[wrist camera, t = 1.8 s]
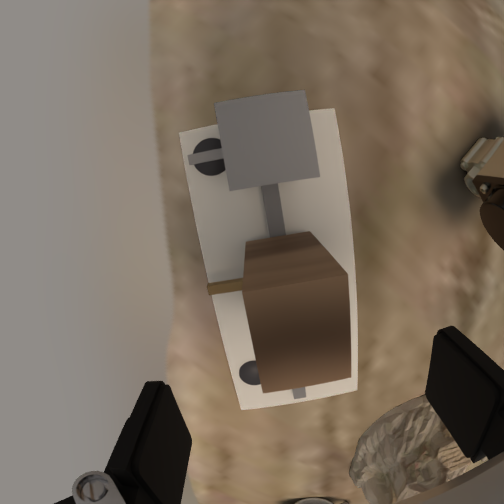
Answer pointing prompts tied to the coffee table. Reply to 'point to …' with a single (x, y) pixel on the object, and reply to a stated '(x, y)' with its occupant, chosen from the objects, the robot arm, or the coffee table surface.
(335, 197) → the board
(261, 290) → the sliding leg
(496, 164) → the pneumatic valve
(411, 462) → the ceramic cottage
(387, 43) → the coffee table surface
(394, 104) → the coffee table surface
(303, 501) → the ceramic mug
